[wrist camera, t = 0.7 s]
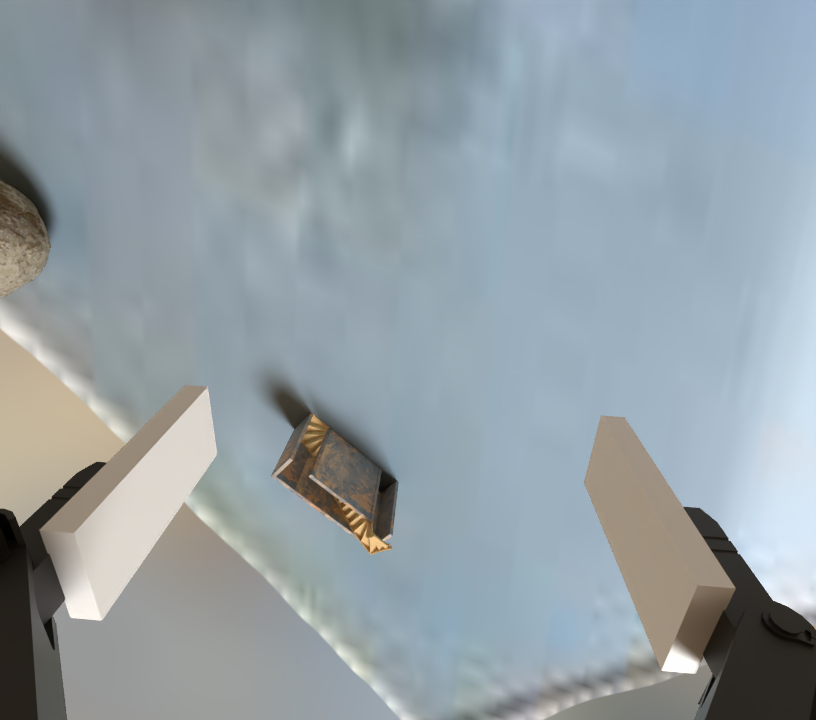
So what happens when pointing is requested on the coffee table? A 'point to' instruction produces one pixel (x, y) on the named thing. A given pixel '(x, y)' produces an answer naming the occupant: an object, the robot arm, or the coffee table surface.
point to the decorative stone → (20, 240)
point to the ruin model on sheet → (338, 483)
